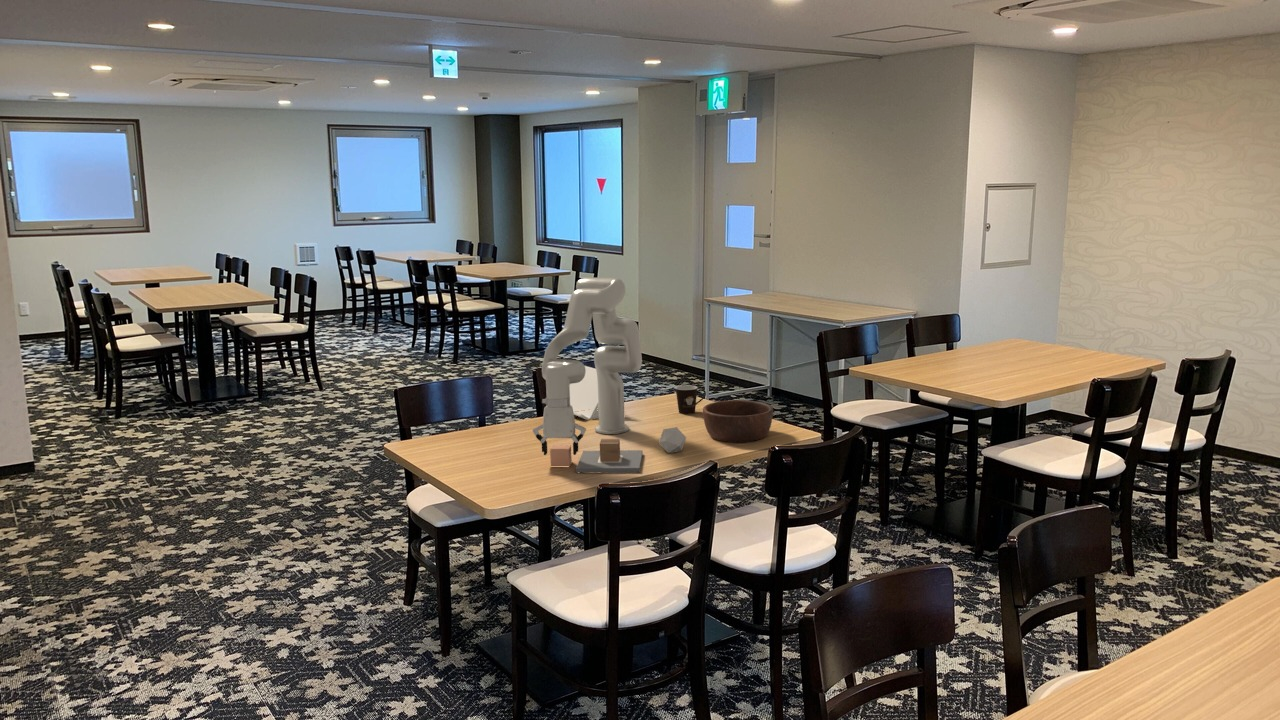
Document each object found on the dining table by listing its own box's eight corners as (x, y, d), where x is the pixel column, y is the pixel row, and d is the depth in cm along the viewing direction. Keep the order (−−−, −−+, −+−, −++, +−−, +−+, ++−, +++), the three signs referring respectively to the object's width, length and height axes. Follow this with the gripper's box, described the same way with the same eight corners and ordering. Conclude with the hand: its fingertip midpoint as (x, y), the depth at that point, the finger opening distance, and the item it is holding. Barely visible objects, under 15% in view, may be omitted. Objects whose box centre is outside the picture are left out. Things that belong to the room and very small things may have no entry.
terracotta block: (553, 462, 311) (552, 445, 310) (571, 462, 311) (570, 444, 310) (550, 468, 305) (550, 450, 304) (569, 467, 305) (568, 449, 304)
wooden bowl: (787, 436, 335) (788, 408, 333) (733, 449, 321) (733, 420, 319) (741, 423, 355) (741, 396, 353) (688, 434, 341) (688, 406, 339)
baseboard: (583, 455, 318) (583, 450, 318) (642, 454, 317) (642, 450, 317) (576, 473, 299) (576, 468, 298) (639, 472, 298) (639, 467, 297)
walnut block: (601, 456, 311) (601, 438, 310) (620, 456, 310) (619, 438, 309) (600, 461, 305) (599, 443, 304) (618, 461, 305) (618, 443, 303)
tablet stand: (587, 403, 394) (585, 363, 391) (620, 414, 374) (618, 372, 370) (549, 410, 384) (547, 369, 381) (581, 422, 363) (579, 378, 360)
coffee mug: (674, 414, 370) (674, 389, 368) (677, 409, 378) (676, 385, 376) (704, 415, 368) (703, 390, 366) (706, 410, 376) (706, 385, 374)
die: (678, 447, 326) (661, 426, 325) (694, 439, 320) (677, 418, 319) (667, 461, 321) (649, 440, 319) (683, 453, 314) (665, 431, 313)
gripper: (529, 405, 301) (531, 457, 304) (583, 404, 300) (585, 457, 303) (533, 400, 308) (535, 451, 311) (586, 399, 307) (588, 450, 310)
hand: (560, 453), depth 307 cm, fingers open, 9 cm apart
